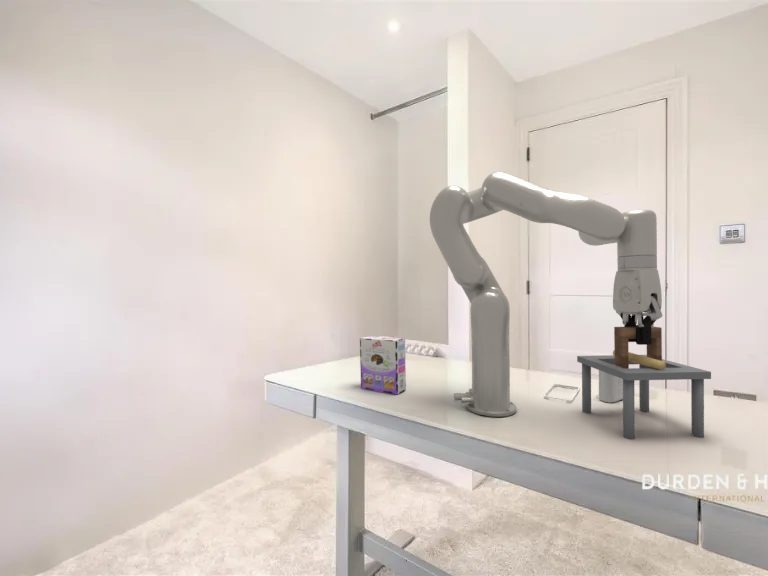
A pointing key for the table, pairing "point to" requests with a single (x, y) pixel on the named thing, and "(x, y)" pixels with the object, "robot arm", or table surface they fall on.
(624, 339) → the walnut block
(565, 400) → the phone case
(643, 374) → the grey open-frame table
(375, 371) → the candy box
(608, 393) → the photo printer
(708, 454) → the table surface
